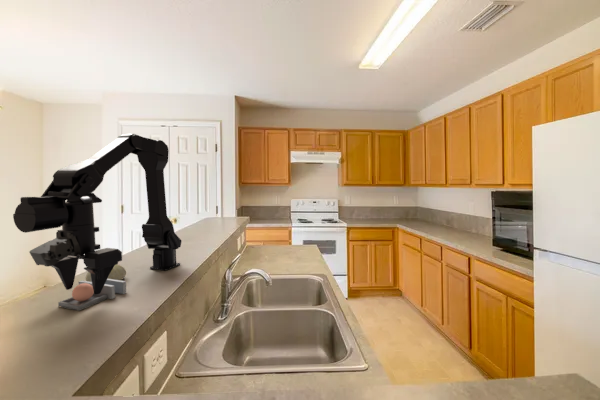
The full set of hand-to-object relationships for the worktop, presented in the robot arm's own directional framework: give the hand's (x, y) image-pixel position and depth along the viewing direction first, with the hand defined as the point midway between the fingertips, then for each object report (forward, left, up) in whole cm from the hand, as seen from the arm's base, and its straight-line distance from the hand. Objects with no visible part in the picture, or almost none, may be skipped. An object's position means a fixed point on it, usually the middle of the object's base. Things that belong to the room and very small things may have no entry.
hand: (83, 291), depth 65 cm
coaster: (0, 0, -3) cm, 3 cm away
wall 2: (-7, -1, -3) cm, 7 cm away
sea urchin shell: (-12, -8, -3) cm, 14 cm away
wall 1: (-4, -1, -3) cm, 5 cm away
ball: (0, 0, -2) cm, 2 cm away
